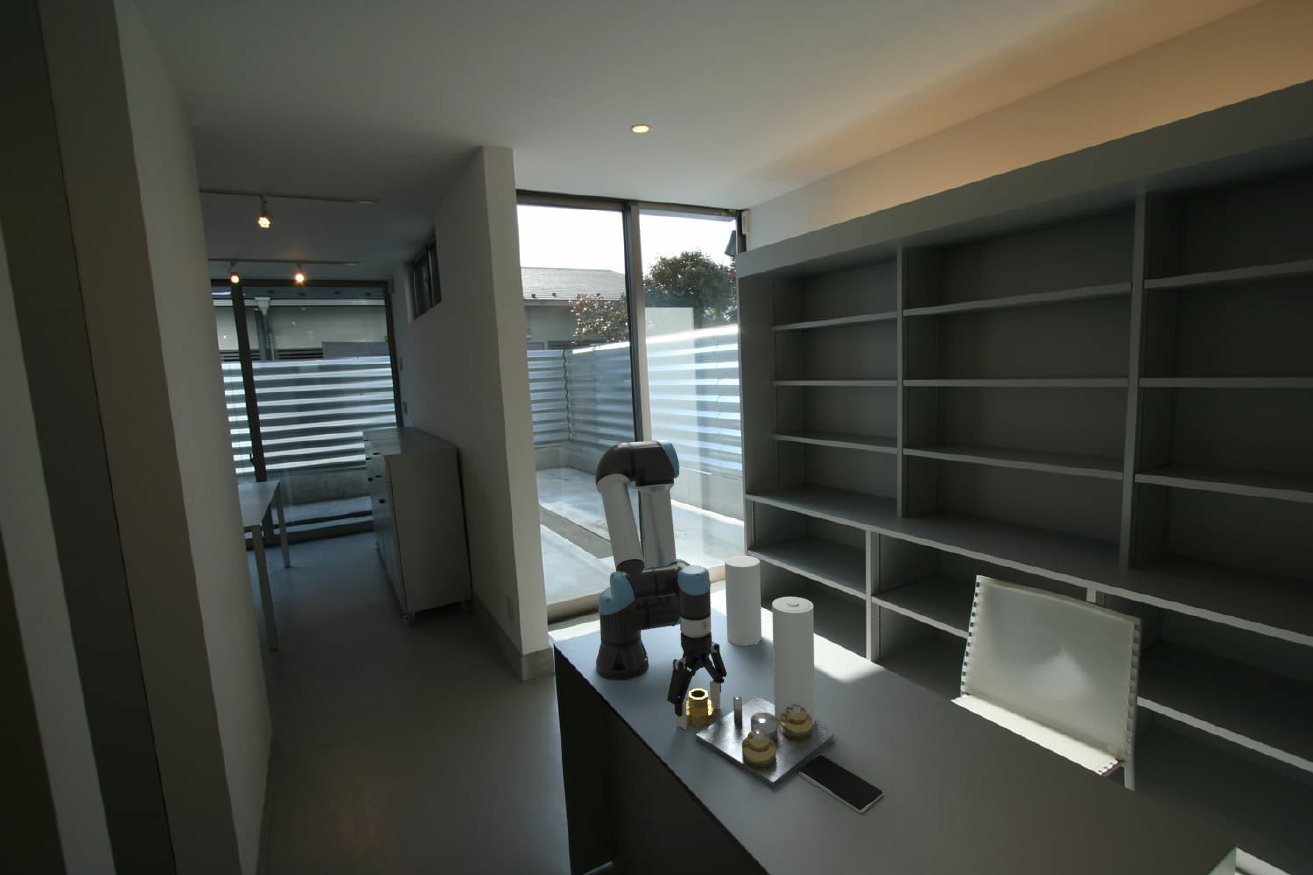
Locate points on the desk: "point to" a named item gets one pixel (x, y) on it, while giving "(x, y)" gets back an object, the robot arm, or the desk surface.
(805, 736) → the plate
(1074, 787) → the desk surface
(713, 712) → the gear
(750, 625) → the tall pillar cylinder
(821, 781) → the smartphone
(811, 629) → the cylinder container
